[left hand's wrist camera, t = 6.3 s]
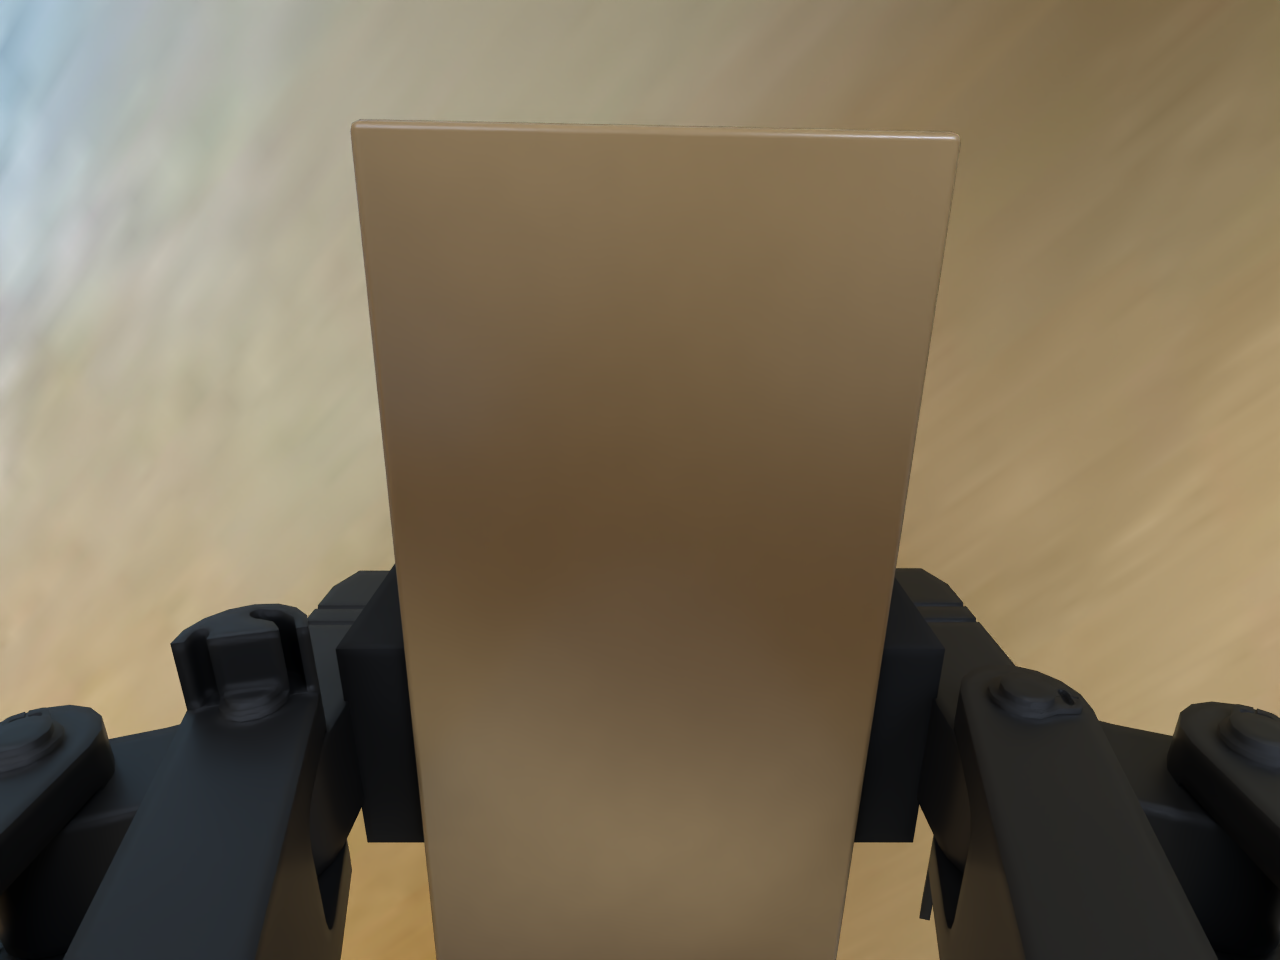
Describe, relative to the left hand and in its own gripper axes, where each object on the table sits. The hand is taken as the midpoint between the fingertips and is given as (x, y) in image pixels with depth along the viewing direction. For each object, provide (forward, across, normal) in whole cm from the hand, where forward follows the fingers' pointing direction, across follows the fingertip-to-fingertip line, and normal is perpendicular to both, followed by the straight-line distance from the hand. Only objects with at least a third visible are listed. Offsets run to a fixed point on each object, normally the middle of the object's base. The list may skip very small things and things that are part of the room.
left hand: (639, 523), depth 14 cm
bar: (0, 0, -29) cm, 29 cm away
